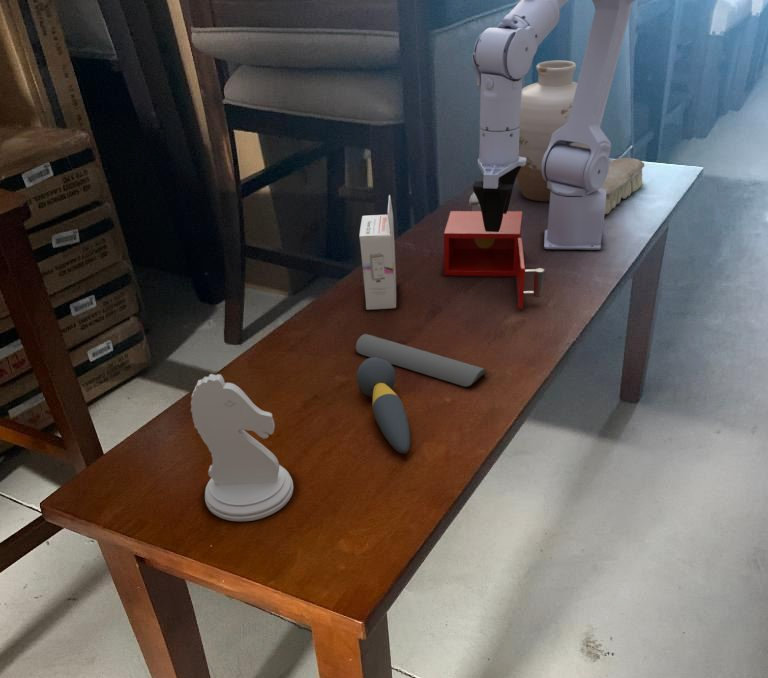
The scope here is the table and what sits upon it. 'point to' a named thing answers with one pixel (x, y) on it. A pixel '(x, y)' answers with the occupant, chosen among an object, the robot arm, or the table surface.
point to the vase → (543, 122)
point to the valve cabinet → (481, 245)
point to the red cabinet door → (521, 275)
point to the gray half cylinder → (419, 360)
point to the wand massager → (385, 401)
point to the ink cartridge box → (378, 260)
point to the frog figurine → (474, 203)
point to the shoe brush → (621, 180)
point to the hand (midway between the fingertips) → (496, 221)
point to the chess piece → (238, 453)
